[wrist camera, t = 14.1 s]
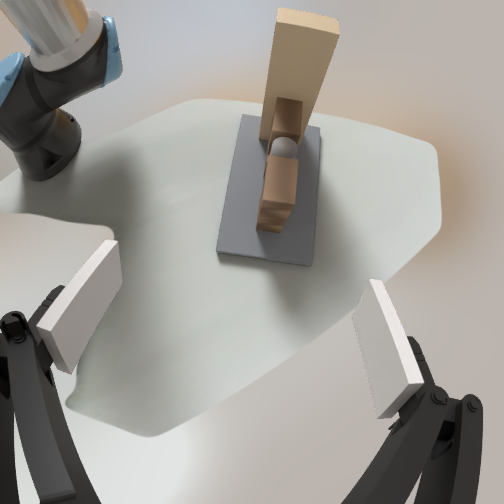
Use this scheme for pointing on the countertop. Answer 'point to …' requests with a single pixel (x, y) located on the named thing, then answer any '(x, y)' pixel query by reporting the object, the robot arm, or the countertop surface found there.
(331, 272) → the countertop surface
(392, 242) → the countertop surface
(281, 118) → the fixed leaf
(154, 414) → the countertop surface
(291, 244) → the hinge frame
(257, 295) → the countertop surface
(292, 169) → the brown wooden block
